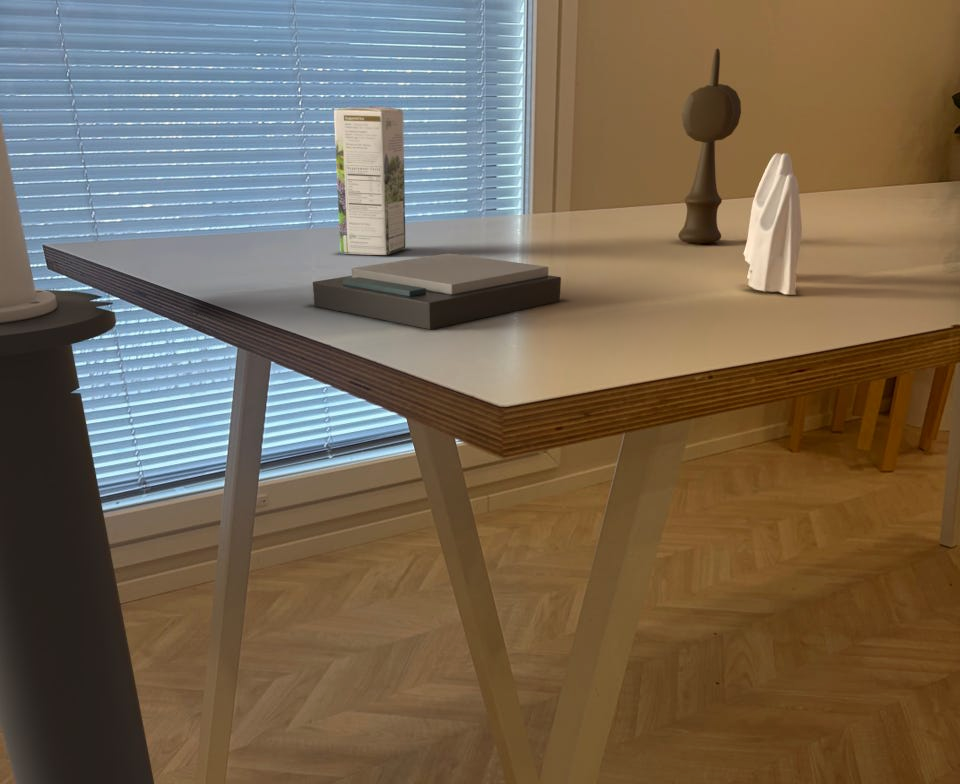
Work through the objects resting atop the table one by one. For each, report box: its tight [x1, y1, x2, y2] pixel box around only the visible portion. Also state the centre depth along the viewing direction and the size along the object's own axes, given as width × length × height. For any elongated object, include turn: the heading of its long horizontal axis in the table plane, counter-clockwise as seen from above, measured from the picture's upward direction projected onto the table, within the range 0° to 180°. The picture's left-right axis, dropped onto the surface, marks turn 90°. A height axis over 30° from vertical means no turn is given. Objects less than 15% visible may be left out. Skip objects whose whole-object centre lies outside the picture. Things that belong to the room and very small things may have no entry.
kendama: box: [677, 48, 742, 244], centre depth 117 cm, size 6×10×20 cm, turn 163°
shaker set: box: [743, 152, 803, 296], centre depth 94 cm, size 12×4×11 cm, turn 171°
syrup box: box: [333, 105, 406, 256], centre depth 112 cm, size 6×6×14 cm
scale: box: [312, 252, 562, 330], centre depth 88 cm, size 16×14×3 cm
